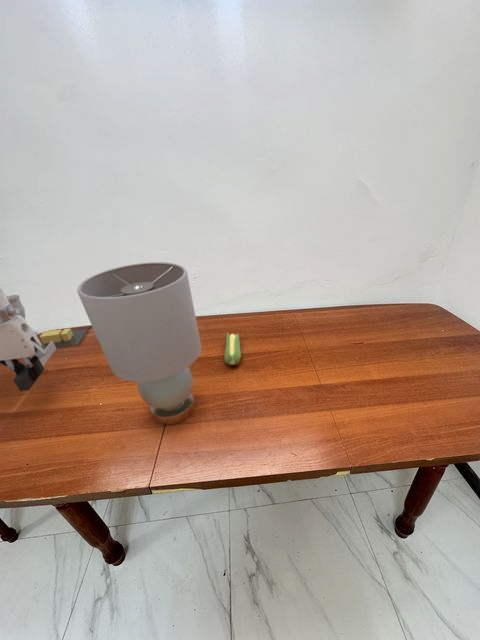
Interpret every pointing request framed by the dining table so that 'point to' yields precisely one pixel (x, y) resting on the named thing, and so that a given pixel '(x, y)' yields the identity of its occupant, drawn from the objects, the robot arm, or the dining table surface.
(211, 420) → the dining table surface
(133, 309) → the lamp
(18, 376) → the knife
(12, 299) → the chalice
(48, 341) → the butter block
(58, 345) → the slate board
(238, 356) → the edible corn
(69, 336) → the butter slice
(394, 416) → the dining table surface
